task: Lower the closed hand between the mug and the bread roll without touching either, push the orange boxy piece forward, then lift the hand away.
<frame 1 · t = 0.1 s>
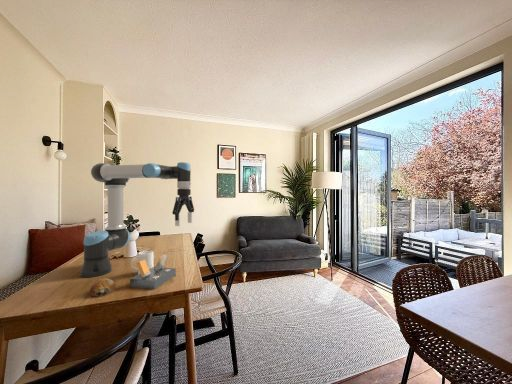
hand: (184, 224, 133), 28 cm above the table, fingers open, 13 cm apart
orange boxy piece: (143, 268, 115), point 8 cm above the table, hinge at -25.0°
mug: (142, 273, 130), on the table
bread roll: (102, 292, 106), on the table
panel: (154, 280, 119), on the table
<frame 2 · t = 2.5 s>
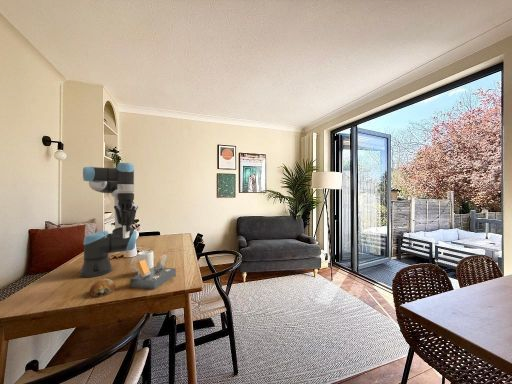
hand: (126, 237, 117), 23 cm above the table, fingers closed
nothing on the table moved.
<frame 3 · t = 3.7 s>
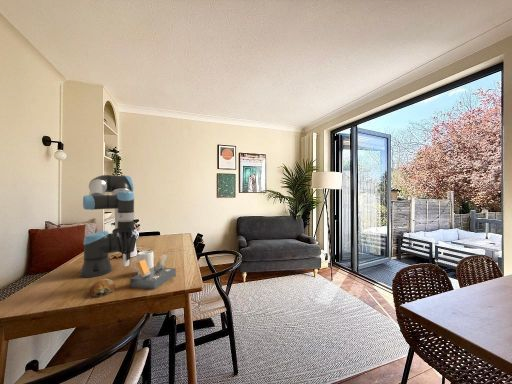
hand: (126, 265, 117), 9 cm above the table, fingers closed
nothing on the table moved.
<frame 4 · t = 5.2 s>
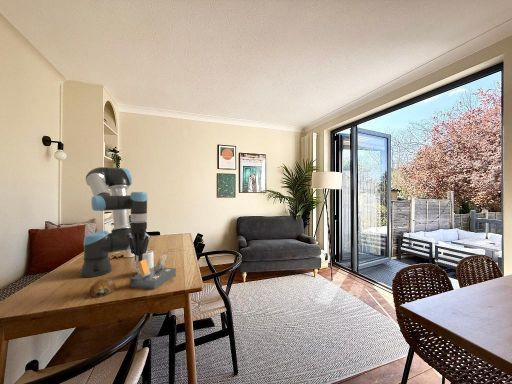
hand: (138, 267, 115), 8 cm above the table, fingers closed
orange boxy piece: (144, 268, 115), point 8 cm above the table, hinge at -20.8°, touching gripper
everything else where it was.
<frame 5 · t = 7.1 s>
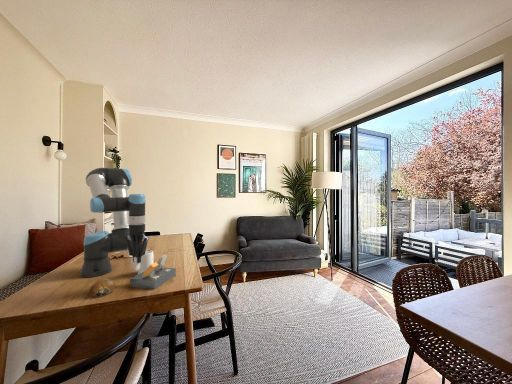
hand: (137, 268, 116), 7 cm above the table, fingers closed
orange boxy piece: (149, 270, 114), point 8 cm above the table, hinge at 42.4°
everything else where it was.
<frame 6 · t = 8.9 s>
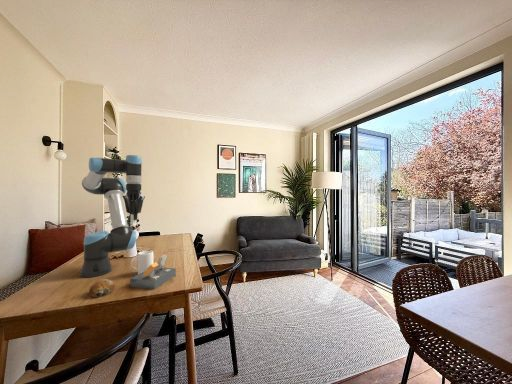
hand: (133, 225, 125), 29 cm above the table, fingers closed
nothing on the table moved.
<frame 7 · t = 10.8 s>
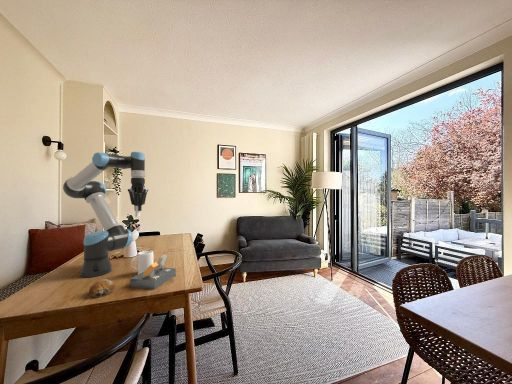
hand: (138, 216, 136), 32 cm above the table, fingers closed
nothing on the table moved.
at the end: orange boxy piece at +42° (first picture: -25°); mug moved 0.1 cm from its start; bread roll moved 1.0 cm from its start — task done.
